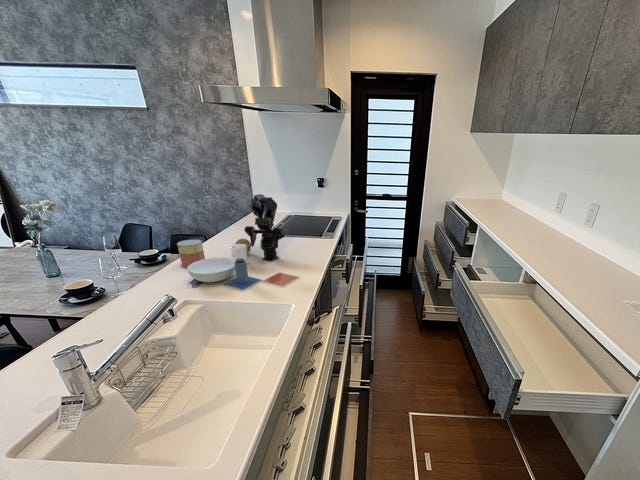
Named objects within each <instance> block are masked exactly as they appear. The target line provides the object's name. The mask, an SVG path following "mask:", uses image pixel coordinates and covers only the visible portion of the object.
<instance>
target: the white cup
mask: <svg viewBox="0 0 640 480" xmlns="http://www.w3.org/2000/svg"><path fill="white" fill-rule="evenodd" d="M229 248H230V252H231V256H232V259H233V260H235V261H236V259H244V260H245V261H246V264H247V265H248V254H247V247H246V245H245V244H235V243H234V244H231V245H230V246H229Z"/></svg>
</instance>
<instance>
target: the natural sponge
mask: <svg viewBox="0 0 640 480" xmlns="http://www.w3.org/2000/svg"><path fill="white" fill-rule="evenodd" d="M235 244H245V245H246V247H247V255H248V254H250V252H251V249H252V246H251V240H249V239H248V238H239V239H238V240H236V241H235V243H234V245H235Z"/></svg>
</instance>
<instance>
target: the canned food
mask: <svg viewBox="0 0 640 480" xmlns="http://www.w3.org/2000/svg"><path fill="white" fill-rule="evenodd" d="M176 246H177V250H178V253H179V259H180V262H181V267H182V268H185V269H187V268H188V266H189V265H190V264H192V263H194V262H196V261H200V260H203V259H206V256H205V252H204V247H203V240H201V239H196V238H195V239H193V238H192V239H184V240H181V241H180V240H179V241H178V242H177V243H176Z"/></svg>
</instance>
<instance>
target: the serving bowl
mask: <svg viewBox="0 0 640 480" xmlns="http://www.w3.org/2000/svg"><path fill="white" fill-rule="evenodd" d="M234 262H235V260H233V258H230V257H209V258H205V259H203V260H200V261H196V262H194V263H192V264H190V265H189V266H188V268H186V269H187V272H188V275H190V277H191V278H193V280H196V281H198V282H203V283H214V282H221V281H224V280H226V279H228V278H230V277H231V276H233V275H234V273H236V271H235V265H234Z"/></svg>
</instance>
